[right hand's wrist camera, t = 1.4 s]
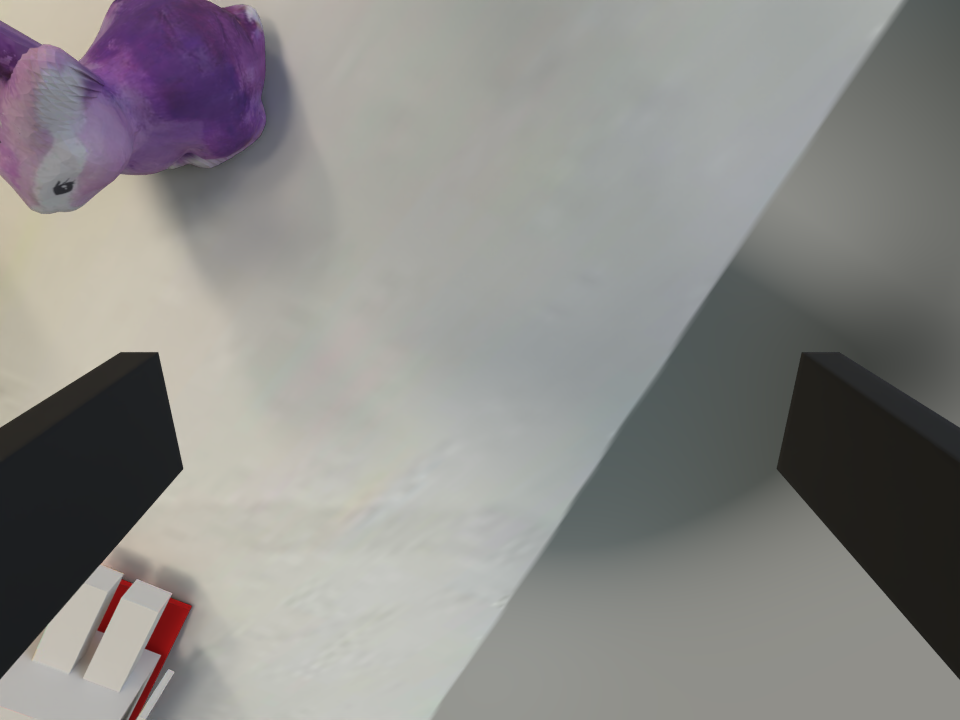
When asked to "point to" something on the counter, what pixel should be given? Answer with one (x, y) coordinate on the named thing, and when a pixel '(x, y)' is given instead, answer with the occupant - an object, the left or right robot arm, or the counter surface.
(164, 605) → the toy
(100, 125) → the figurine
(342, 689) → the counter surface
